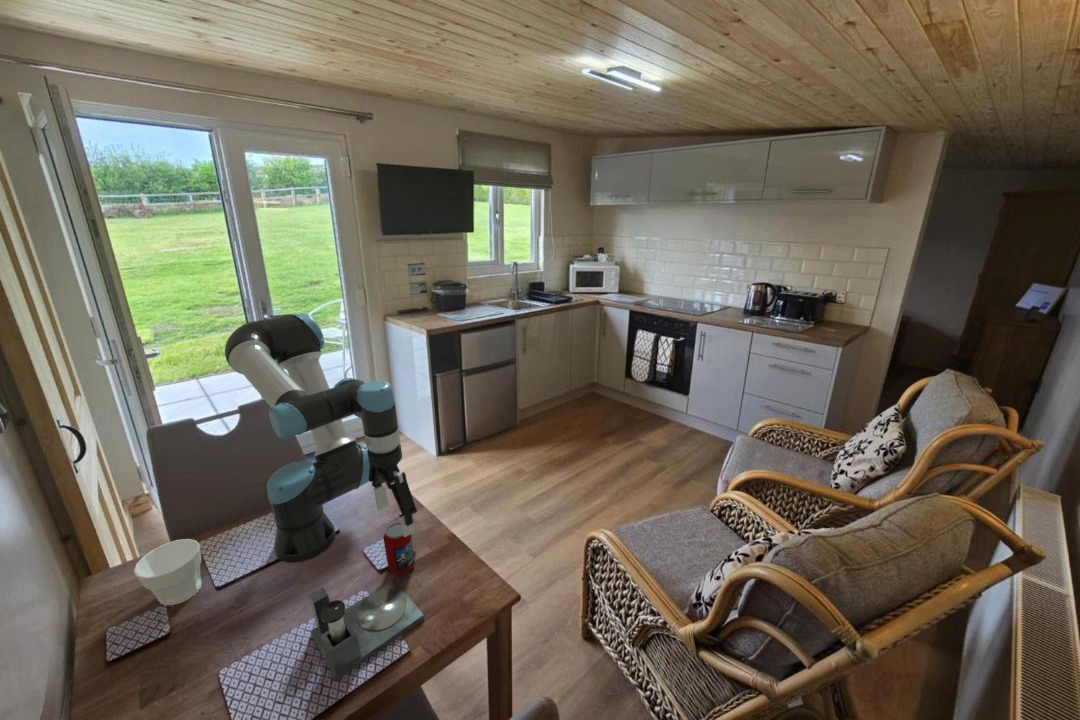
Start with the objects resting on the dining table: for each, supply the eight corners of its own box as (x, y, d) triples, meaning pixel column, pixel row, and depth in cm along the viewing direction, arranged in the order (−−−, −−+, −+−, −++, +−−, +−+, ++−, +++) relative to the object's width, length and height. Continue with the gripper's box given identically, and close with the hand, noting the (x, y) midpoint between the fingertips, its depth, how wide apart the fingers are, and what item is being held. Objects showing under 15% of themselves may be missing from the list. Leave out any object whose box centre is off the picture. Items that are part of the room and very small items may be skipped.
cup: (222, 582, 114) (210, 547, 110) (167, 622, 103) (152, 585, 99) (193, 566, 118) (181, 532, 115) (137, 603, 108) (122, 567, 104)
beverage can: (407, 578, 114) (402, 541, 110) (383, 574, 115) (377, 537, 111) (419, 558, 120) (414, 522, 116) (396, 555, 121) (390, 519, 117)
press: (310, 634, 100) (301, 598, 96) (394, 583, 113) (388, 550, 109) (335, 681, 90) (326, 644, 86) (424, 619, 103) (419, 584, 99)
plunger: (325, 642, 92) (317, 609, 89) (346, 628, 95) (339, 596, 92) (333, 657, 89) (325, 623, 86) (355, 642, 92) (348, 609, 89)
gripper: (346, 433, 111) (359, 504, 118) (394, 474, 94) (406, 554, 101) (375, 423, 116) (386, 492, 123) (425, 460, 99) (435, 537, 106)
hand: (395, 520), depth 112 cm, fingers open, 13 cm apart
